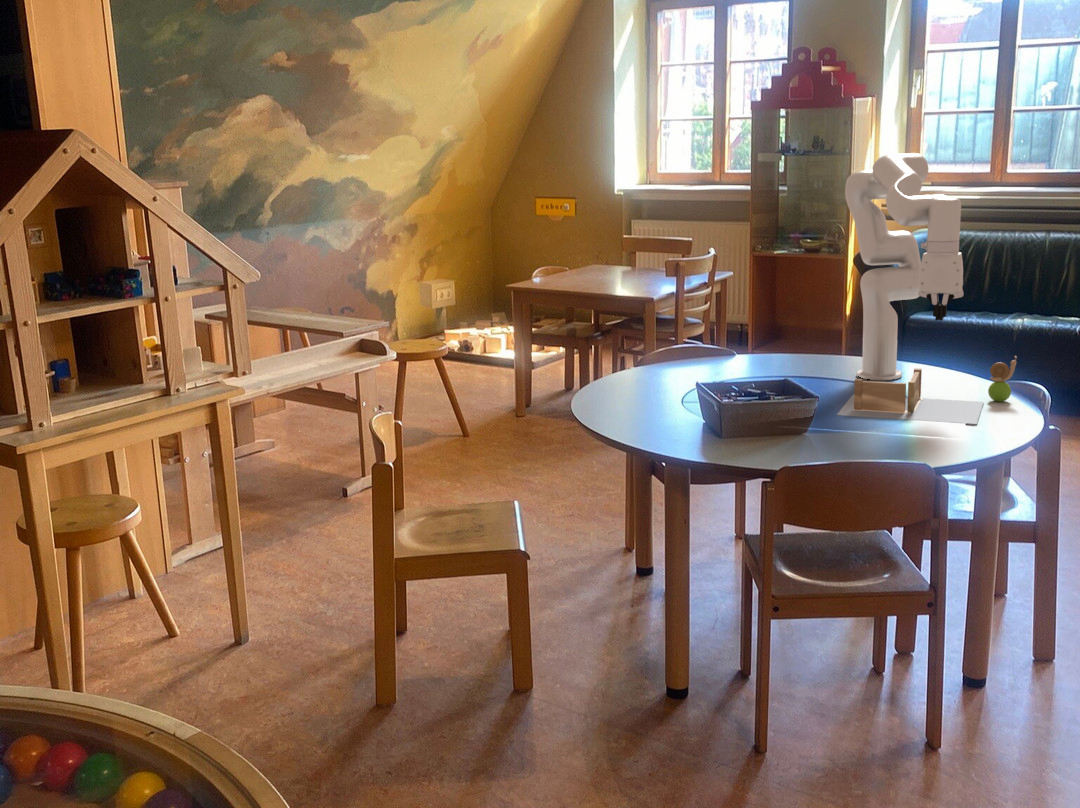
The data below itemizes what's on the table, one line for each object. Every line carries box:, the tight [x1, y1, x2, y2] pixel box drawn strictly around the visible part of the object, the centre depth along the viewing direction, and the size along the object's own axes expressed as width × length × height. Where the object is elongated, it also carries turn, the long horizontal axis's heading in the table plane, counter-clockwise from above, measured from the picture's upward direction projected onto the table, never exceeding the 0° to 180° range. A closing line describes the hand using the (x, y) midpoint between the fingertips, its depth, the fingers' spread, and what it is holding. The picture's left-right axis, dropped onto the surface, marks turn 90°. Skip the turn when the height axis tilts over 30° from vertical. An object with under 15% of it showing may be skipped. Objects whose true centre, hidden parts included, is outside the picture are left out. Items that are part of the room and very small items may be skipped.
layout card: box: [836, 394, 984, 426], centre depth 264 cm, size 22×33×1 cm, turn 63°
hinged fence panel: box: [907, 367, 923, 412], centre depth 266 cm, size 2×17×7 cm, turn 155°
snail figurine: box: [987, 355, 1018, 403], centre depth 266 cm, size 5×6×12 cm
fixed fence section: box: [853, 378, 907, 412], centre depth 263 cm, size 2×12×8 cm, turn 63°
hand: (939, 319), depth 262 cm, fingers closed
